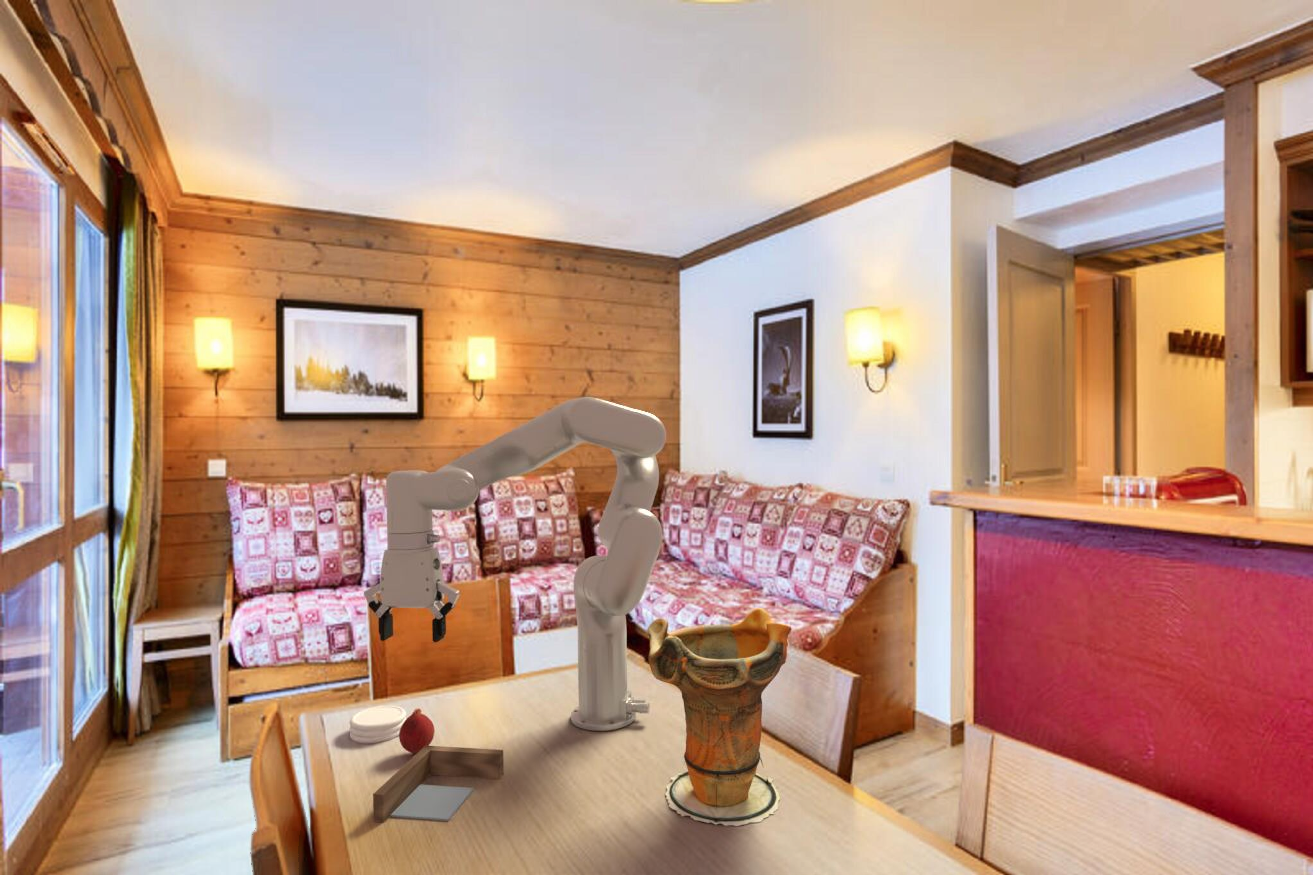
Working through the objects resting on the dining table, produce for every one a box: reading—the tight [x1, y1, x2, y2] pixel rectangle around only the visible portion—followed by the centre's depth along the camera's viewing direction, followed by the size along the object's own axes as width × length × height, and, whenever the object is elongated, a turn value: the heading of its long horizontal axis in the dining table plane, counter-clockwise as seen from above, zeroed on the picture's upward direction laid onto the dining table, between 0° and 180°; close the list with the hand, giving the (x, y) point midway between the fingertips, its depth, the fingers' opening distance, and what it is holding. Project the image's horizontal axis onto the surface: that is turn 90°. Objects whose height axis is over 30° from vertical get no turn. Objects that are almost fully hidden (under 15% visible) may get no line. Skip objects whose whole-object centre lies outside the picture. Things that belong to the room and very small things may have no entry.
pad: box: [390, 784, 475, 822], centre depth 107 cm, size 9×9×1 cm
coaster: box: [349, 705, 407, 744], centre depth 134 cm, size 10×10×4 cm
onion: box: [398, 707, 435, 756], centre depth 124 cm, size 6×6×8 cm
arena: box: [372, 745, 505, 823], centre depth 109 cm, size 14×16×4 cm
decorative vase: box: [646, 607, 792, 827], centre depth 108 cm, size 21×23×28 cm
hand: (412, 639), depth 123 cm, fingers open, 9 cm apart
